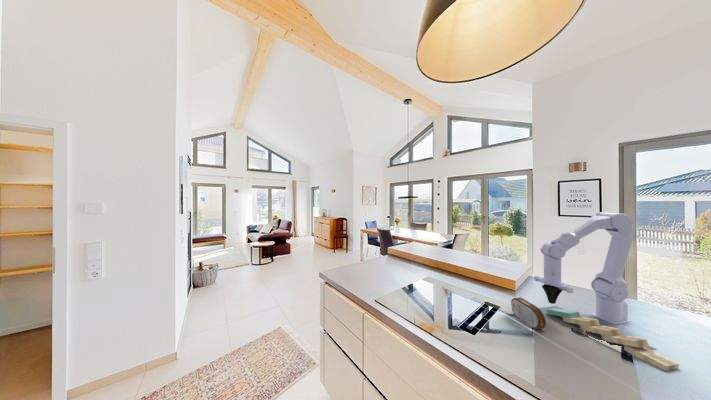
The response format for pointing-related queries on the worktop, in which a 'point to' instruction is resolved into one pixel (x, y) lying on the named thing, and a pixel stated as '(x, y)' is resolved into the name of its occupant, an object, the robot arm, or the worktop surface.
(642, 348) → the domino
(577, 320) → the domino
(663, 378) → the worktop surface
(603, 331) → the domino
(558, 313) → the domino
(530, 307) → the tin
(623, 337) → the domino
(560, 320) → the felt mat
